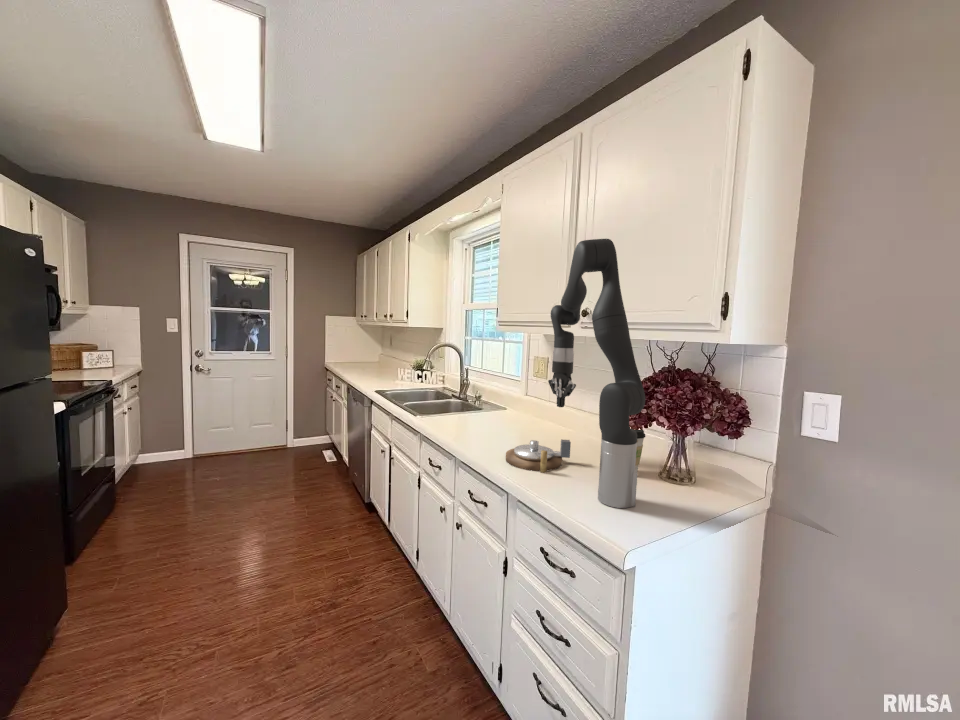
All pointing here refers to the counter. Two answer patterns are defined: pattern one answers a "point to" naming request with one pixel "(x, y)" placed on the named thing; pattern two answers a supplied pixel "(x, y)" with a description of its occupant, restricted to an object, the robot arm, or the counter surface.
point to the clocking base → (534, 462)
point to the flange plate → (535, 449)
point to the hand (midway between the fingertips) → (560, 406)
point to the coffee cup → (639, 446)
